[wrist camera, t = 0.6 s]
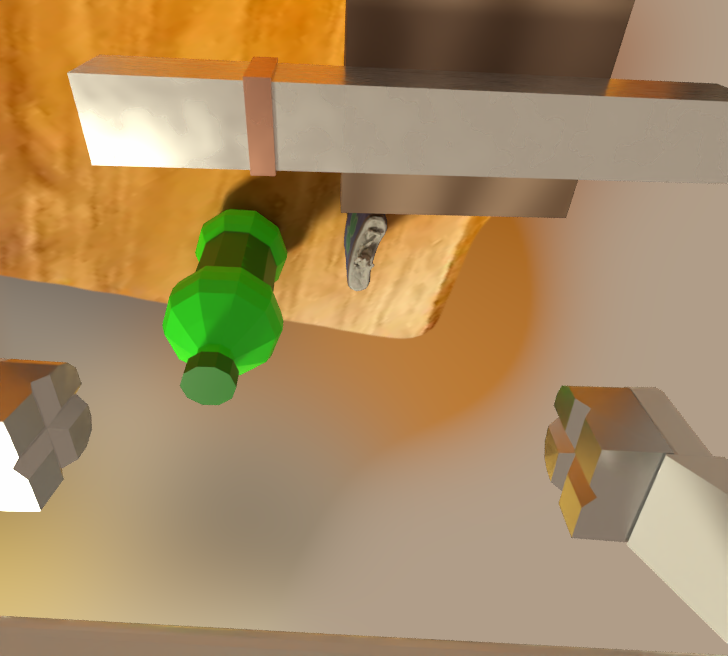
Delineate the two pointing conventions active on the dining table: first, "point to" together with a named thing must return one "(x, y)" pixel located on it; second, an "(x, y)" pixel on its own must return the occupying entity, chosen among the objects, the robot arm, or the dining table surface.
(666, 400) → the robot arm
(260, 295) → the plastic bottle
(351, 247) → the flask
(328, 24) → the dining table surface
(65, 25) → the dining table surface
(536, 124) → the bar
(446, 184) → the stand
